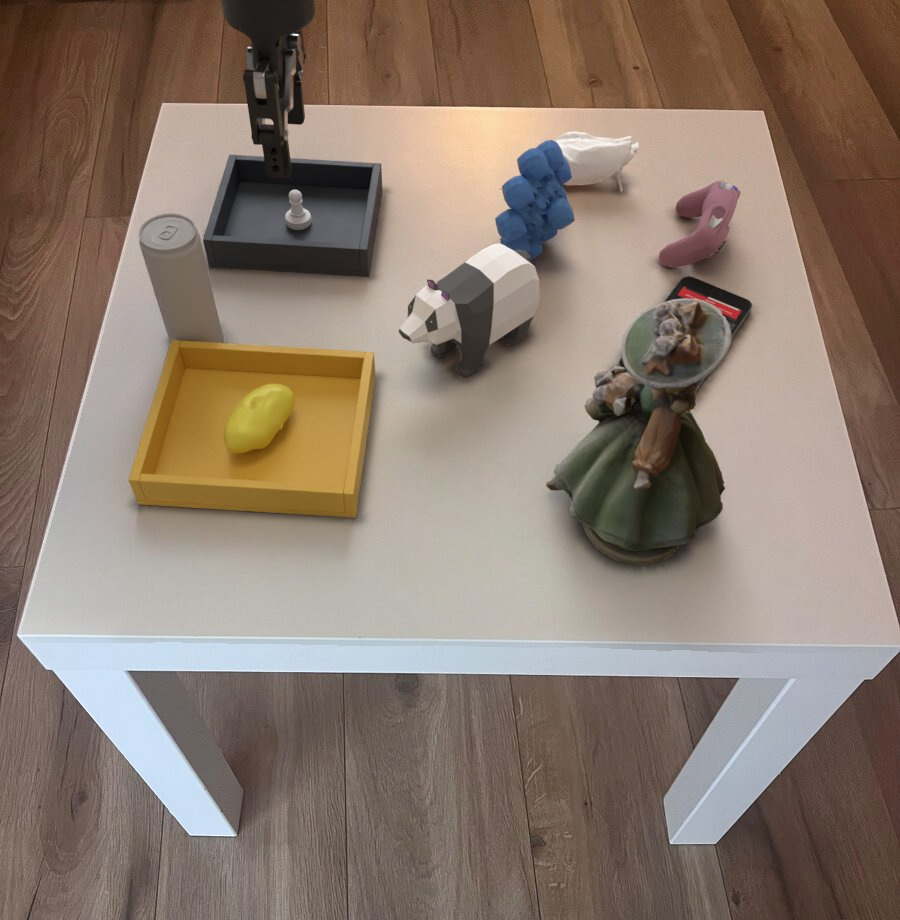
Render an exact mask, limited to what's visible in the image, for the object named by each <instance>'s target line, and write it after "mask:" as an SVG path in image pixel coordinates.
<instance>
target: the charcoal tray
mask: <svg viewBox="0 0 900 920" xmlns="http://www.w3.org/2000/svg"><path fill="white" fill-rule="evenodd" d="M290 159H291V168H292V172H291V176H290V178H288V179H278V178H270V177H269V176H268V175H267V174H266V167H265V161H264V156H263V155H262V156H259V155H245V154H244V155H243V154H229V155H228V157H227V161H226V164H225V167H224V170H223V173H222V176H221V180H220V183H219V187H218V190H217V193H216V196H215V199H214V203H213V206H212V209H211V212H210V214H209V215H210V216H209V218H208V221H207V225H206V229H205V232H204V235H203V237H202V244H203V247H204V252H205V256H206V261H207V263H208V267H209V268H217V269H232V270H233V269H235V270H249V271H268V272H269V271H270V272H284V273H300V274H301V273H303V274H316V275H317V274H318V275H333V276H335V275H336V276H349V277H350V276H352V277H366V278H367V277H368V278H369V277H370V273H371V266H372V260H373V254H374V247H375V246H374V245H375V240H376V236H377V235H376V233H377V227H378V221H379V216H380V209H381V203H382V196H383V174H382V173H383V171H382V170H383V169H382V163H380V162H362V161H361V162H360V161H345V160H329V159H328V160H327V159H311V158H296V157H295V158H293V157H290ZM292 190H298V191H300V192H301V194H302V200H303V201H302V203H301V205H302V207H303V208H304V209H306V210H308V211H309V212H310V214H311V220H312V222H311V225H310V226H309V227H308V228H306V229H303V230H293V229H291V228H289V227H288V226H287V225H286V220H285V215H286V213H287V212H288V211H289V210H290V209H291V207H292V204H291V203H290V202H289V200H290V199H289V193H290V191H292Z"/></svg>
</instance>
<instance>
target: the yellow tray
mask: <svg viewBox="0 0 900 920" xmlns="http://www.w3.org/2000/svg"><path fill="white" fill-rule="evenodd" d="M375 362H376V361H375V352H374V351H363V350H362V351H360V350H344V349H328V348H327V349H326V348H325V349H324V348H311V347H296V346H294V347H293V346H279V345H278V346H277V345H263V344H262V345H261V344H247V343H246V344H245V343H231V342H230V343H228V342H223V343H214V342H197V341H180V340H172V341H171V344H170V343H169V348H168V351H167V355H166V357H165V361H164V364H163V367H162V369H161V373H160V377H159V379H158V380H159V381H158V383H157V386H156V390H155V393H154V396H153V399H152V402H151V406H150V409H149V412H148V414H147V415H148V416H147V419H146V422H145V425H144V428H143V432H142V435H141V439H140V441H139V445H138V449H137V451H136V454H135V457H134V461H133V464H132V467H131V470H130V473H129V477H128V480H127V481H128V483H129V485H130V487H131V489H132V492H133V494H134V496H135V499H136V501H137V503H138V505H144V506H160V507H176V508H192V509H209V510H225V511H240V512H256V513H271V514H273V513H274V514H288V515H290V514H291V515H302V516H303V515H305V516H321V517H339V518H351V519H352V518H354V519H355V518H357V515H358V507H359V499H360V492H361V485H362V484H361V483H362V478H363V470H364V463H365V455H366V449H367V442H368V435H369V428H370V419H371V412H372V405H373V398H374V390H375V385H376V363H375ZM267 384H281V385H284V386H287V387H289V389H290V390H291V391H292V392H293V394H294V399H295V402H294V409H293V412H292V414H291V416H290V417H289V418H288V420H287V421H286V422H285V423H284V424H283V426H282V429H281V430H279V431H278V432H277V433H276V435H275V436H274V438H273V439H272V441H271V442H270V443H269V445H268V446H267V447H265V448H263V449H253V450H250V451H247V452H244V453H239V454H237V453H232V452H230V451H229V450H228V449H227V448H226V445H225V442H224V430H225V426H226V423H227V421H228V419H229V417H230V415H231V414H232V413H233V411H234V410H235V408H236V407H237V405H238V404H239V403H240V402H241V401H242V399H243V398H244V397H245V396H247V395H248V394H249V393H250V392H252V391H253V390H255V389H257V388H259V387H262V386H264V385H267Z"/></svg>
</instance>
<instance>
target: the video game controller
mask: <svg viewBox="0 0 900 920" xmlns="http://www.w3.org/2000/svg"><path fill="white" fill-rule="evenodd" d="M740 197H741V190H739V188H738V187H737V186H736V185H733V184H732V183H731V182H725V179H724V178H722V180H721V181H720V180H717V181H716V180H715V181H714V182H712V183H710V184H708V185H707V186H705V187H702V188H701V189H697V190H694V191H691V192H689V193H687V194H685V195H683V196H682V197H681V198H680V199H679V200H678V201H677V202H676V205H675V211H676V213H677V215H678V216H680V217H683V218H687V219H688V218H689V219H690V218H691V219H693V218H700V220H699V221H698V224H697V225H696V228H695V230H694V232H692V233H690V234H689V235H688V236H686V237H683V238H681V239H678V240H676V241H674V242H671V243H669V244H667V245H666V246H664V247H663V248H662V249H661V250H660V252H659V254H658V261H659V262H660V264H661V265H662V266H664V267H669V268H682V267H687V266H690V265H692V264H695V263H697V262H699V261H701V260H703V259H708V258H710V257H711V256H713V255H714V254H715V253H716V252H717V253H719V252H721V251H724V249H725V248H726V245H727V240H726V239H727V237H728V235H729V233H730V226H729V224H730V223H731V221H732V218H733V216H734V213H735V210H736V208H737V205H738V201H739V199H740Z"/></svg>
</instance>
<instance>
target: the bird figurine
mask: <svg viewBox="0 0 900 920" xmlns="http://www.w3.org/2000/svg"><path fill="white" fill-rule="evenodd" d="M632 140H633V137H632V136H631V135H627V136H625V137H619V138H613V137H605V136H603V137H599V136H595V135H592V134H590V133H588V132H584V131H577V130H572V131H567V132H565V133H563V134H560V135H559V136H558V137H557V138H556V139H555V140H554V141H555V142H557V143H558V145H559V146H560V148H561V150H562V153H563V157H565V158H566V160H567V162H568V163H569V165H570V169H571V174H572V178H571V179H570V180H569V181H567V182H566V183H564V184H563V185H564V186H589V185H596V184H597V183H601V182H602V181H604V180H606V179H608V178H610V177H611V176H612V175H614V176H615V178H616V181H617V185H618V189H619V192H621V193H622V192H623V185H622V181H621V180H622V179H621V178H622V171H623V167H625V166H626V165H628V164H629V163H630V162H631V161H632V160H633V158H634V156H635V155H636V154H637V151H638V150H639V148H640V140H639V141H636V142H635V143H633V141H632Z"/></svg>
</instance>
